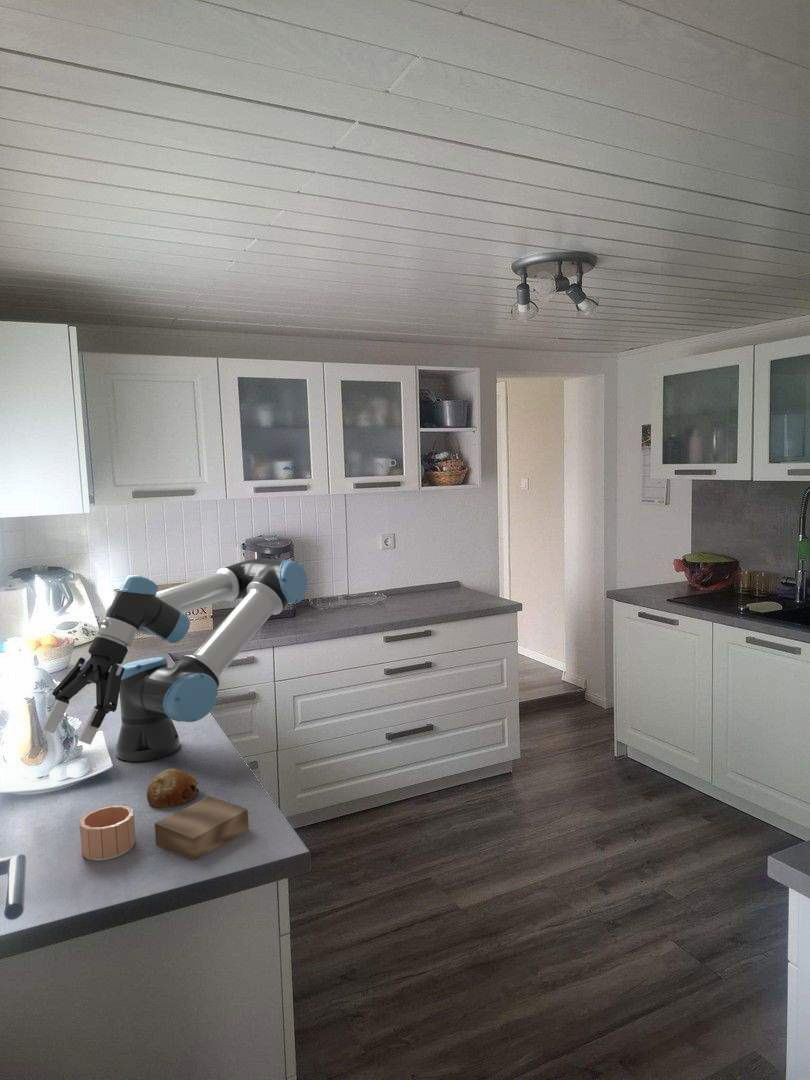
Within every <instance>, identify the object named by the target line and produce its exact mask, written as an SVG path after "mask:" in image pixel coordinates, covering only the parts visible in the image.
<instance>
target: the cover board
mask: <svg viewBox="0 0 810 1080" xmlns="http://www.w3.org/2000/svg"><path fill="white" fill-rule="evenodd" d="M248 812H249V811H248V808H245V807H242V806H239V805H237V804H234V803H231V802H229V801H224V800H222V799H219V798H216V797H213V796H211V795H209V796H207V797H204V798H203V799H201V800H199V801H196V802H195V803H193V804H191V805H188V806H187V807H184V808H182V809H181V810H179V811H176V812H175V813H173V814H170V815H168V816H167V817H164V818H162V819H160V820H159V821H155V822H154V834H155V835H154V836H155V844H156V846H159V847H162V848H164V849H167V850H168V851H171V852H174V853H175V854H177V855H180V856H183V857H185V858H188V859H190V860H192V859H193V860H192V861H194V860H195V861H197V860H199V859H200V858H202V857H204V856H205V854H206V855H207V854H209V853H211V852H212V850H213V849H214V850H216V849H218V848H220V847H221V846H223V845H224V843H225V844H227V843H228V842H230V841H232V840H233V839H235V838H237V837H239V836H240V835H242V834H244V833H245V832H247V831H249V828H250V827H249V813H248ZM238 835H239V836H238ZM236 836H237V837H236ZM231 839H232V840H231ZM229 840H230V841H229ZM222 844H223V845H222ZM219 846H220V847H219ZM217 847H218V848H217ZM214 850H213V851H214ZM210 851H211V852H210ZM208 852H209V853H208ZM203 855H204V856H203ZM201 856H202V857H201ZM199 857H200V858H199ZM198 858H199V859H198ZM196 859H197V860H196Z"/></svg>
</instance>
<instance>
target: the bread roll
mask: <svg viewBox="0 0 810 1080" xmlns="http://www.w3.org/2000/svg"><path fill="white" fill-rule="evenodd" d="M198 785H199V781H196V778H195V777H194V776H192V775H190V774H189V773H187V772H186V771H181V770H179V769H177V768H168V769H164V770H162V771H161V772H159V773H158V774H157V775H156V776H155V777H154V778H153V779H151V782H150V783H149V785H148V787H147V790H146V800H147V803H148V804H149V805H150V806H151V807H154V808H161V809H164V808H173V807H179V806H182V805H184V804H187V803H189V802H191V801H192V800H193V799H194V798H195V797H196V795H197V793H199V792H200V790H199V788H198V787H197V786H198Z"/></svg>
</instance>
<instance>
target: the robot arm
mask: <svg viewBox="0 0 810 1080" xmlns="http://www.w3.org/2000/svg"><path fill="white" fill-rule="evenodd" d="M158 589H159V586H158V585H157V584H156V583H155V582H154V581H153V580H151V579H149V578H147V577H145V576H142V575H139V574H128V575H127V576H126V577H125V578H124V581H123V582H122V584H121V585H120V587H119V588H118V589H117V593H116V595H115V596H114V598H113V601H112V602H111V603H110V604H109V606H108V607H107V609H106V612H105V618H104V619H103V620H102V622H101V624H100V627H99V629H98V631H97V633H96V634H97V635H98V636H95V637H94V639H93V640H92V641H91V644H90V646H89V648H88V650H87V651H88V653H89V654H90V657H89V659H86V658H84V657H82V656H81V657H79V658H78V660H77V662H76V664H75V665H74V667H73V668H72V669H71V670H70V671H69V672H68V673H67V674H66V676H65V677H64V678H63V679H62V681H61V682H60V683H59V684H58V685H57V686H56V687H55V688H54V690H53V691H52V694H51V695H52V696H54V697H55V701H54V703H53V705H52V707H51V709H50V711H49V713H48V716H47V717H46V719H45V721H44V723H43V725H42V727H41V730H42V731H45V732H49V733H52V734H55V732H56V731H57V729H58V726H59V725H60V722H61V720H62V719H63V717H64V715H65V713H66V711H67V709H68V706H69V705H70V700H71V699H73V697H75V695H77V694H78V693H79V692H80V691H81V690H83V688H84V687H86V686H87V685H90V684H95V695H96V696H95V697H96V702H95V703H96V705H95V706H94V707H93V709H92V710H91V712H90V714H89V716H88V718H87V720H86V722H85V724H84V726H83V728H82V730H81V733H80V734H79V736H78V738H77V741H80V742H81V743H84V744H87V745H90V746H91V744H92V743H93V741H94V738H95V737H96V735H97V732H98V730H99V728H100V727H101V726H102V723H103V721H104V719H105V717H106V715H107V714H109V713H110V712H112V713H113V712H114V713H115V712H116V710H117V708H118V701H119V704H120V706H119V707H120V715H121V716H120V717H121V725H120V730H119V733H118V738H117V742H116V744H115V755H117V756H116V758H118V759H119V758H120V759H119V760H121V759H122V761H124V760H126V762H147V761H153V760H157V759H161V758H164V757H166V756H169V755H171V754H173V753H174V752H176V751H178V749H179V748H180V745H181V744H180V735H179V734H178V731H177V729H176V726H175V724H174V722H173V721H175V722H179V723H180V722H185V723H194V722H198V721H200V720H203V719H204V718H205V717H206V716H208V715H209V714H210V712H211V711H212V710H213V709H214V707H215V705H216V703H217V697H218V695H219V689H218V688H219V686H220V685H221V681H220V680H221V679H220V676H221V675H222V674H223V673H224V672H225V670H226V669H227V668H228V667H229V666H230V665H231V663H233V661H234V660H235V659H236V657H237V656H239V654H240V653H241V651H242V650H243V649H244V648H245V647H246V646H247V644H248V643H249V642H250V641H251V640H252V639H253V637H255V635H256V634H257V633H258V631H259V630H260V629H261V628H262V626H263V625H264V624H265V623H266V622H267V621H268V619H269V618H270V617H271V616H272V615H273V616H277V615H280V613H281V612H283V611H284V610H285V608H286V606H287V605H289V604H292V605H293V604H297V603H300V602H302V600H303V599H304V598H305V597H306V594H307V591H308V575H307V573H306V570H305V568H304V567H303V565H302V564H301V563H300V562H298V561H296V560H295V561H294V560H290V559H271V558H270V559H269V558H253V559H248V560H245V561H244V560H243V561H239V562H236V563H234V564H231V565H229V566H225V567H222V568H219V569H218V570H217V571H216V572H215V573H214V574H212V575H208V576H205V577H202V578H198V579H196V580H195V579H194V580H191V581H187V582H185V583H182V584H179V585H175V586H172V587H169V588H166V589H163V590H162V589H161V590H159V591H158ZM240 599H241V601H239V603H238V604H237V605H236V606H235V607H234V608H233V610H232V611H231V612H230V613H229V614H228V615H227V616H226V617H225V618H224V620H223V621H221V622H220V624H219V625H217V627H216V628H215V629H214V630H213V631H212V633H210V635H209V636H208V637H207V638H206V640H204V642H203V643H201V645H200V646H199V647H198V648H197V649H196V650H195V651H194V653H192V654H185V655H182V657H181V658H180V659H179V660H178V661H177V662H176V663H175V664H174V665H173V667H168V665H169V663H168V660H167V658H165V657H161V656H159V657H150V658H144V659H138V660H134V661H130V662H127V663H125V664H123V662H124V660H125V659H126V656H127V653H128V652H129V650H128V648H129V647H131V646H132V644H133V642H134V640H135V638H136V635H137V634H141V635H142V634H143V635H147V636H152V637H157V638H160V639H161V640H162V641H166V642H167V643H170V644H175V643H178V642H181V640H182V641H183V639H184V638H185V637H187V635H188V631H189V629H190V626H191V622H190V621H191V620H190V618H189V616H187V615H186V614H187V613H190V612H193V611H196V610H199V609H202V608H204V607H206V606H207V607H208V606H210V605H213V604H216V603H219V602H221V601H222V602H223V601H227V602H232V601H235V600H240ZM287 607H288V606H287Z"/></svg>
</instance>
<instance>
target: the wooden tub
mask: <svg viewBox="0 0 810 1080" xmlns="http://www.w3.org/2000/svg"><path fill="white" fill-rule="evenodd" d="M134 815H135V813H134V809H133V808H132V807H129V806H127V805H109V806H104V807H99V808H96V809H93V810H92V811H90V812H87V813H86V814H84V815H83V816H82V817H81V818H80V819H79V831H80V843H81V844H80V845H81V847H80V848H81V854H82V856H83V857H84V858H85V859H86V860H88V861H89V860H90V861H96V862H98V861H107V860H112V859H115V858H119V857H120V856H123V855H125V854H126V853H128V852H129V851H131V850H132V849H133V847H134V846H135V844H136V842H137V841H136V840H137V839H136V827H135V826H136V825H135V816H134Z"/></svg>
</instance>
